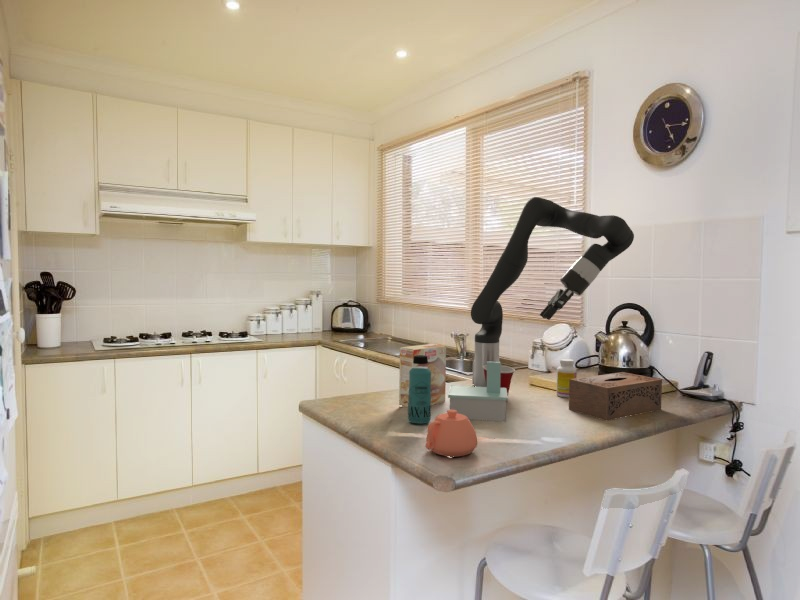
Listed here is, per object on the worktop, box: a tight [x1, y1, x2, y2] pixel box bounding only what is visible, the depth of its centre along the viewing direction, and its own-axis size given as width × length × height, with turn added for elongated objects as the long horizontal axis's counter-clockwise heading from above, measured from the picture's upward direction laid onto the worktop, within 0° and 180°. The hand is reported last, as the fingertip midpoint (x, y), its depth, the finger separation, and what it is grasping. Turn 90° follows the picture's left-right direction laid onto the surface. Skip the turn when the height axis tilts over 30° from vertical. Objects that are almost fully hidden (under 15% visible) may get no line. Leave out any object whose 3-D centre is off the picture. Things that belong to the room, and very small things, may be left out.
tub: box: [449, 398, 507, 422], centre depth 158 cm, size 16×12×7 cm
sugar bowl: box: [425, 409, 478, 457], centre depth 126 cm, size 12×14×10 cm
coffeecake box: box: [398, 343, 447, 408], centre depth 171 cm, size 15×7×20 cm, turn 131°
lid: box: [447, 361, 509, 401], centre depth 157 cm, size 17×13×11 cm
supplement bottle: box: [556, 358, 578, 399], centre depth 186 cm, size 7×7×13 cm
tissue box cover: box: [568, 371, 663, 421], centre depth 168 cm, size 26×14×10 cm, turn 120°
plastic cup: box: [482, 364, 516, 402], centre depth 176 cm, size 11×11×12 cm
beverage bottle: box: [407, 355, 432, 424], centre depth 148 cm, size 6×7×20 cm
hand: (543, 317), depth 158 cm, fingers open, 8 cm apart
